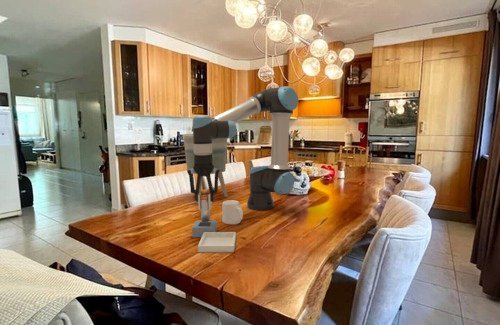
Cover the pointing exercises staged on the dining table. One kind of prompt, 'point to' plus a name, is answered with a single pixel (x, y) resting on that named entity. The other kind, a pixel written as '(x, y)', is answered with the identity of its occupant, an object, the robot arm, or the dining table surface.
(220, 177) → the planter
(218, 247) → the tray
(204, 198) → the spice jar
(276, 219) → the dining table surface
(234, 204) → the mug
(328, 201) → the dining table surface
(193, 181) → the robot arm
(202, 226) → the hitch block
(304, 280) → the dining table surface
